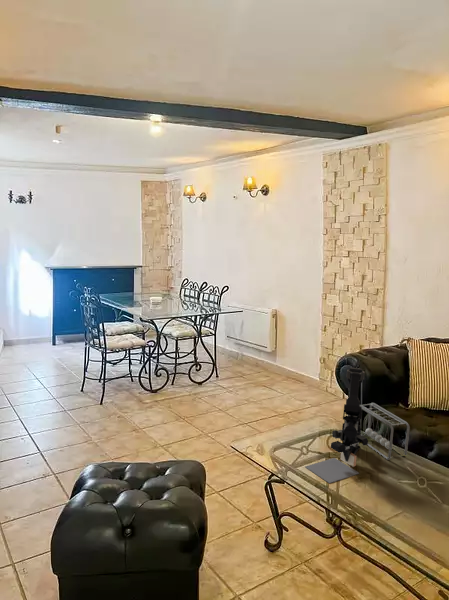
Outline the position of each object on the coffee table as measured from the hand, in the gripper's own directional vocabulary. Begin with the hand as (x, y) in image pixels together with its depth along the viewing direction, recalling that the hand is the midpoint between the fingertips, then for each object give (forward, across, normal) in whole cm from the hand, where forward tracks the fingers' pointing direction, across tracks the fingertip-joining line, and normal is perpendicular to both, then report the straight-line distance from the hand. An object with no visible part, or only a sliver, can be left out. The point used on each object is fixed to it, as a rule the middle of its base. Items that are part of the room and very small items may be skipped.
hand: (348, 460), depth 240 cm
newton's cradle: (+1, -26, -5) cm, 27 cm away
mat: (+1, +12, +2) cm, 12 cm away
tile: (+1, 0, 0) cm, 1 cm away
